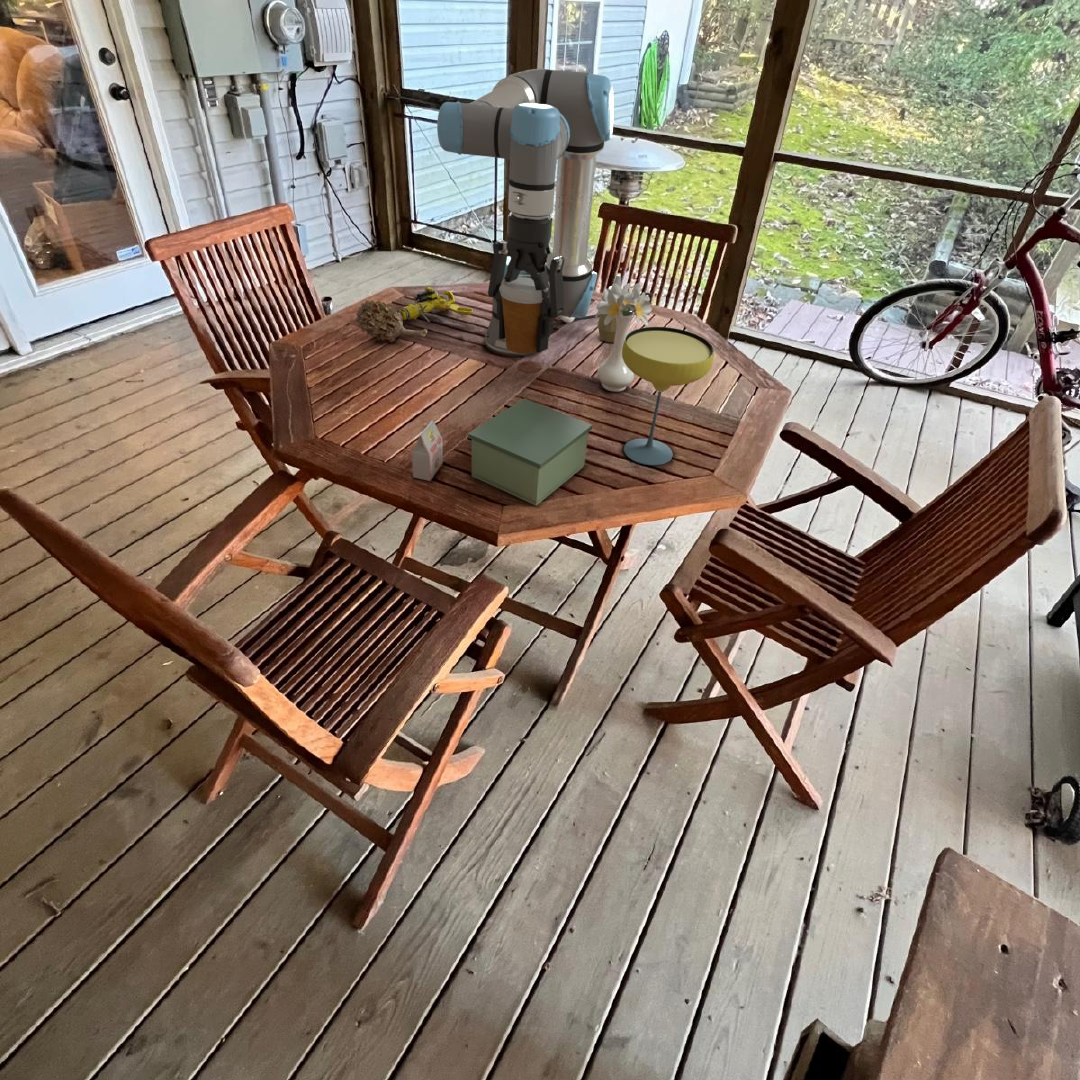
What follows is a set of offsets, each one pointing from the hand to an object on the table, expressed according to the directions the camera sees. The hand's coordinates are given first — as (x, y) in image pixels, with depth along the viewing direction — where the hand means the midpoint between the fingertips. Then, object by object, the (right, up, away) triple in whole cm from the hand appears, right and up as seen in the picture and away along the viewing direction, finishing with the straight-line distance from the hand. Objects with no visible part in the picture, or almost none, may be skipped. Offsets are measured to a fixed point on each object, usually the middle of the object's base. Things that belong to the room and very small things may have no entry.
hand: (523, 343), depth 129 cm
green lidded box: (+1, -23, +13) cm, 26 cm away
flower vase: (+22, +2, +46) cm, 51 cm away
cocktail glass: (+27, -18, +22) cm, 39 cm away
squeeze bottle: (+23, +21, +69) cm, 75 cm away
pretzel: (+10, +30, +79) cm, 85 cm away
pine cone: (-36, +17, +57) cm, 70 cm away
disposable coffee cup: (0, -1, +1) cm, 1 cm away
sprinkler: (-29, +29, +73) cm, 84 cm away
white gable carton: (-20, -23, +11) cm, 32 cm away
